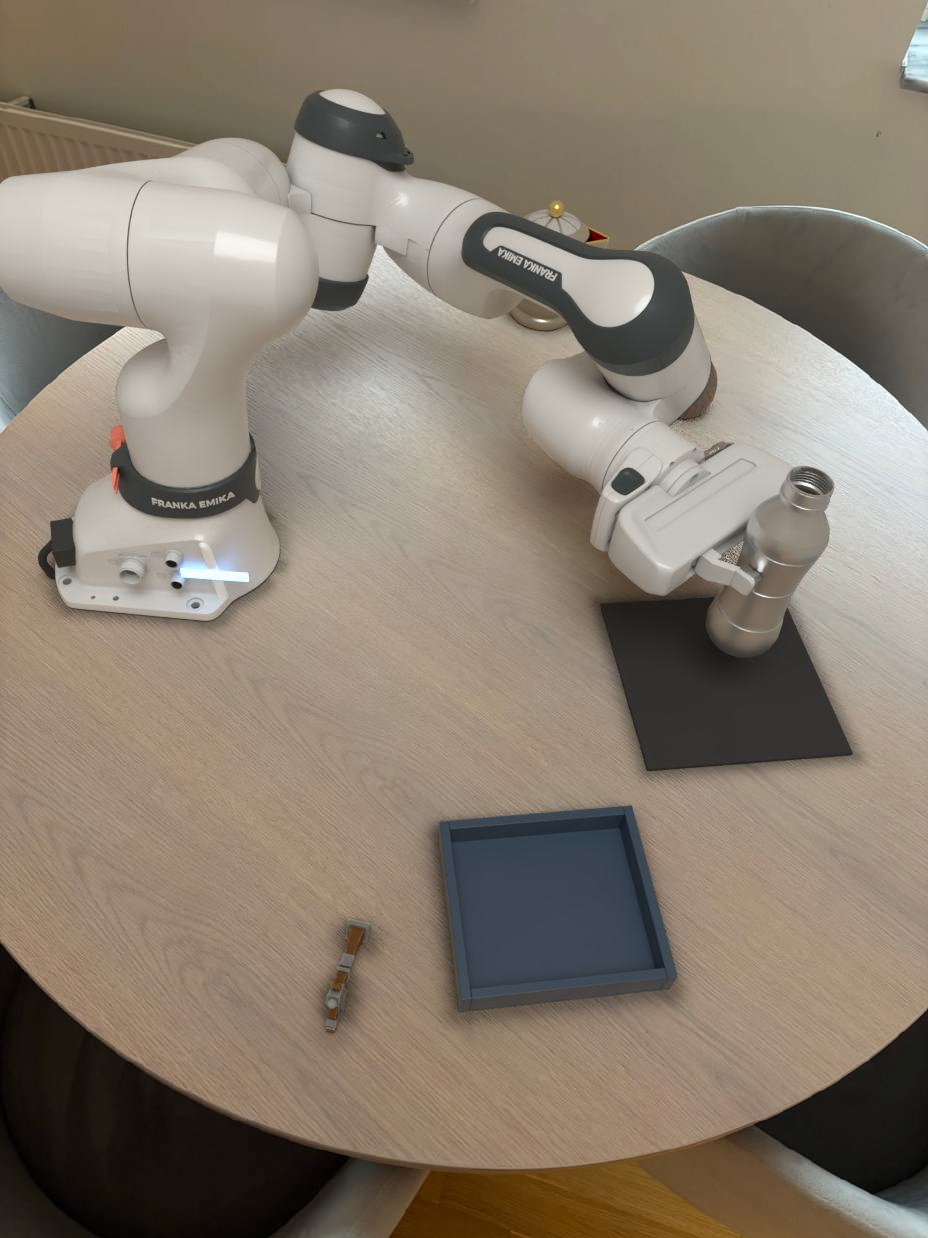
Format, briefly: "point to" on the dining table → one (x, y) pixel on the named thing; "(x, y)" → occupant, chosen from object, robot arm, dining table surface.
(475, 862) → the tray
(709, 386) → the vase
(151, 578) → the robot arm
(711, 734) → the mat
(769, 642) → the silver metal bottle
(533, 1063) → the dining table surface
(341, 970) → the wooden post with brackets
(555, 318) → the teapot
